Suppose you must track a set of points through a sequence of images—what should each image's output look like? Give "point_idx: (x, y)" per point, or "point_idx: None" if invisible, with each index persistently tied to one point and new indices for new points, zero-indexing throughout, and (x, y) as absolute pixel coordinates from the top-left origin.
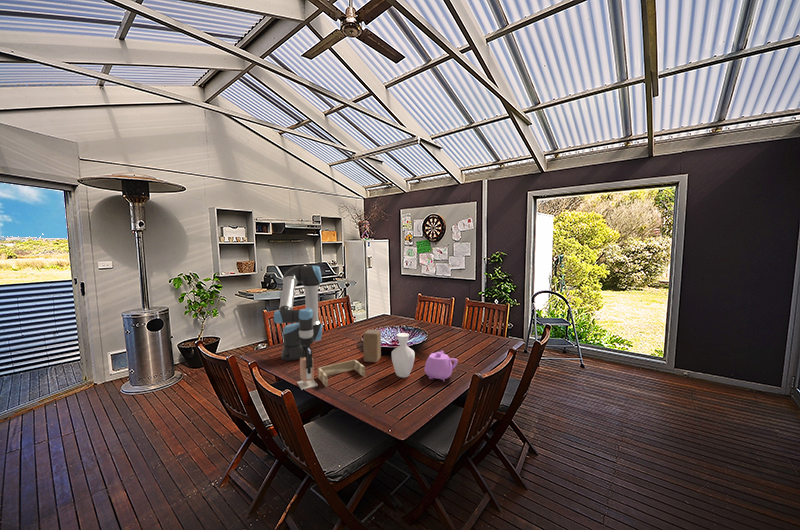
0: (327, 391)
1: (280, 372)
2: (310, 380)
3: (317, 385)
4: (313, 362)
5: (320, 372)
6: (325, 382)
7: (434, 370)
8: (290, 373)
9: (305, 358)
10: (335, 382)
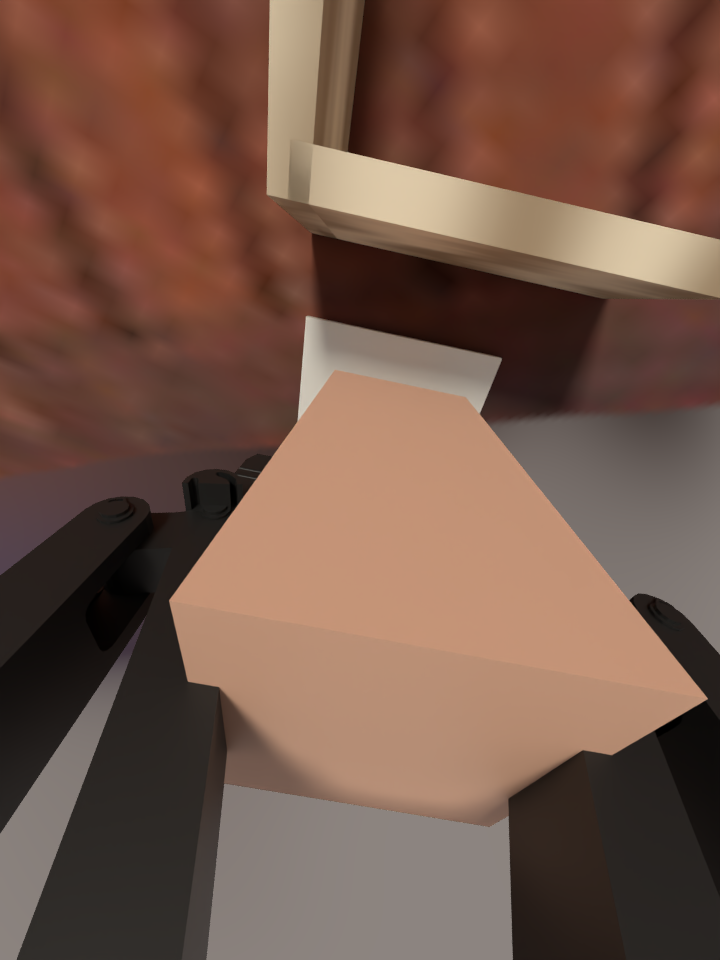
0: (698, 343)
1: (22, 473)
2: (349, 367)
3: (498, 361)
4: (595, 561)
5: (434, 239)
6: (635, 297)
7: None
8: (68, 424)
9: (376, 766)
10: (655, 71)
